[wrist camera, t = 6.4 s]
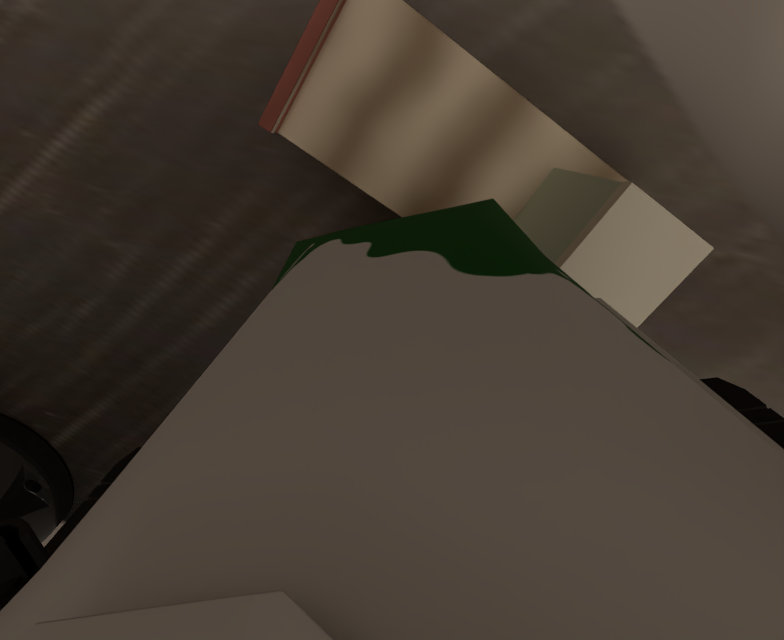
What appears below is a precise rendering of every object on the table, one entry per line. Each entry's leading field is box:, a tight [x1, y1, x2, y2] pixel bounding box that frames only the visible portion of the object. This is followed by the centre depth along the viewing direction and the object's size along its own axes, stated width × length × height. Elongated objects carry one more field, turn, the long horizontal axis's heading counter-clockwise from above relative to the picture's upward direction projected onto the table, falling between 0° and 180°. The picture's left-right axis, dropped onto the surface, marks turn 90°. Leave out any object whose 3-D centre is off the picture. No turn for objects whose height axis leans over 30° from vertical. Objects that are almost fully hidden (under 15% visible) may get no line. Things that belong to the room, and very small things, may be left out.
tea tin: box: [514, 168, 714, 328], centre depth 25 cm, size 5×6×10 cm
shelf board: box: [258, 0, 628, 221], centre depth 28 cm, size 22×10×4 cm, turn 56°
